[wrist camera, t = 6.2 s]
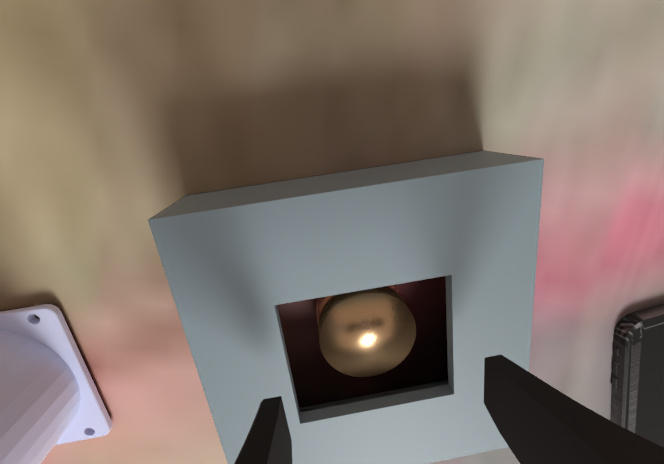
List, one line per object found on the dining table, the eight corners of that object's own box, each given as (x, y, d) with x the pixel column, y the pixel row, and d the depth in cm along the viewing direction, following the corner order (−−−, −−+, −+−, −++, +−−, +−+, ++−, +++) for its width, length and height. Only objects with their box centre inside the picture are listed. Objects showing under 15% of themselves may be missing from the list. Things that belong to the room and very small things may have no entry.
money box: (251, 428, 19) (240, 501, 16) (185, 195, 15) (148, 219, 11) (480, 383, 20) (523, 443, 16) (483, 150, 16) (543, 158, 12)
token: (322, 343, 18) (326, 384, 15) (309, 272, 17) (312, 302, 14) (399, 330, 18) (418, 367, 16) (393, 258, 17) (413, 285, 14)
